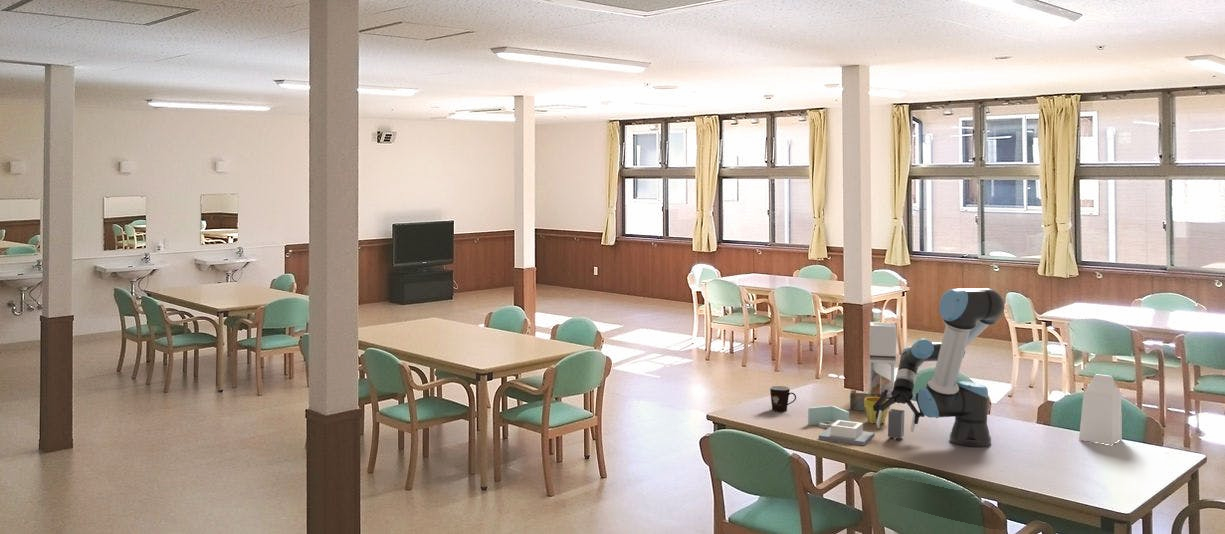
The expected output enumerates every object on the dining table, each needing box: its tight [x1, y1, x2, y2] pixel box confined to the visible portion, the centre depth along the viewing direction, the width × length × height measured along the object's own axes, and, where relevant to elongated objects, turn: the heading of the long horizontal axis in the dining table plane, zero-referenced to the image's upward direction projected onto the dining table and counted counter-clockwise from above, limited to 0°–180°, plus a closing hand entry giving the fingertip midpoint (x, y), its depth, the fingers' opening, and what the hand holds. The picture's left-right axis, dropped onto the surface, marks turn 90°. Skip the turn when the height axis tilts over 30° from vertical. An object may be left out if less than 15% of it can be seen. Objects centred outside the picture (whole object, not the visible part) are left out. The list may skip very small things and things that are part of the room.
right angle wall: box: [807, 405, 851, 429], centre depth 393 cm, size 12×12×8 cm
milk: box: [1078, 373, 1123, 445], centre depth 372 cm, size 12×12×26 cm
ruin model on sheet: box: [849, 389, 877, 412], centre depth 421 cm, size 11×3×10 cm, turn 74°
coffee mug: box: [769, 385, 797, 413], centre depth 420 cm, size 12×9×10 cm
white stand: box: [867, 321, 897, 400], centre depth 442 cm, size 11×11×35 cm
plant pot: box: [864, 397, 891, 425], centre depth 400 cm, size 10×10×10 cm
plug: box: [887, 408, 905, 441], centre depth 375 cm, size 5×5×11 cm
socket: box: [818, 420, 875, 447], centre depth 377 cm, size 18×15×6 cm
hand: (894, 428), depth 373 cm, fingers open, 12 cm apart
